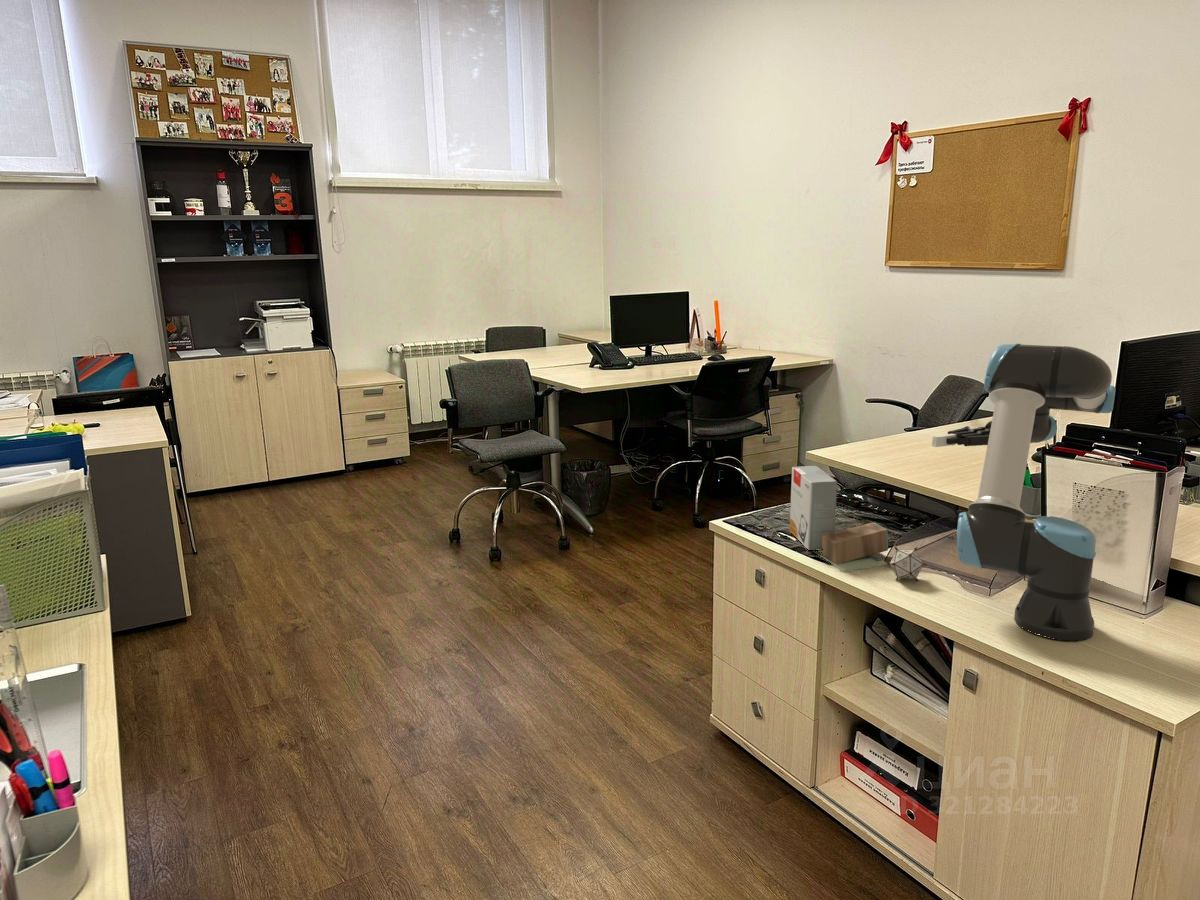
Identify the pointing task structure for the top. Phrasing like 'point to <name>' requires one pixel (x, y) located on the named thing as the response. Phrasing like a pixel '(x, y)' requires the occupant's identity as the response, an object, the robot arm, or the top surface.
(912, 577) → the game die
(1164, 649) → the top surface
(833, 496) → the hard drive box
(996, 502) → the robot arm
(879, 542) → the walnut block
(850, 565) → the pale green square plate
